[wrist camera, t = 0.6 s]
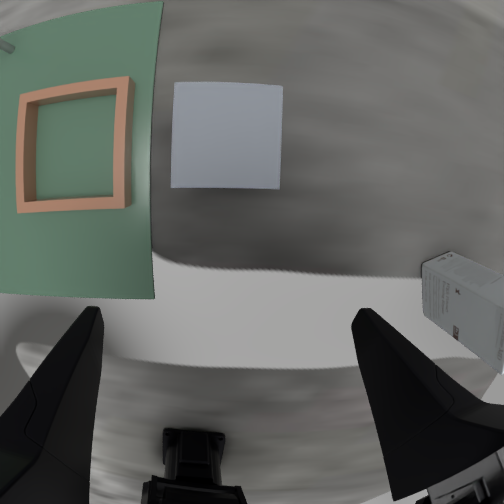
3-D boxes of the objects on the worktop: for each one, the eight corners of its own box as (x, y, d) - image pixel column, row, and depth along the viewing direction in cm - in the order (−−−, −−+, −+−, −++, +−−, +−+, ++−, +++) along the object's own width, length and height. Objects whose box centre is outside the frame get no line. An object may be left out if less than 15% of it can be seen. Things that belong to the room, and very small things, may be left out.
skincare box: (419, 263, 27) (512, 314, 15) (451, 248, 27) (542, 289, 16) (422, 317, 29) (499, 379, 17) (453, 301, 29) (530, 353, 17)
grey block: (249, 180, 23) (279, 189, 13) (187, 179, 22) (170, 187, 13) (252, 119, 22) (282, 86, 12) (188, 117, 21) (174, 82, 12)
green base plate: (154, 297, 24) (124, 386, 14) (-2, 291, 22) (-73, 348, 11) (165, -7, 18) (145, -95, 7) (4, 28, 16) (-65, -11, 5)
